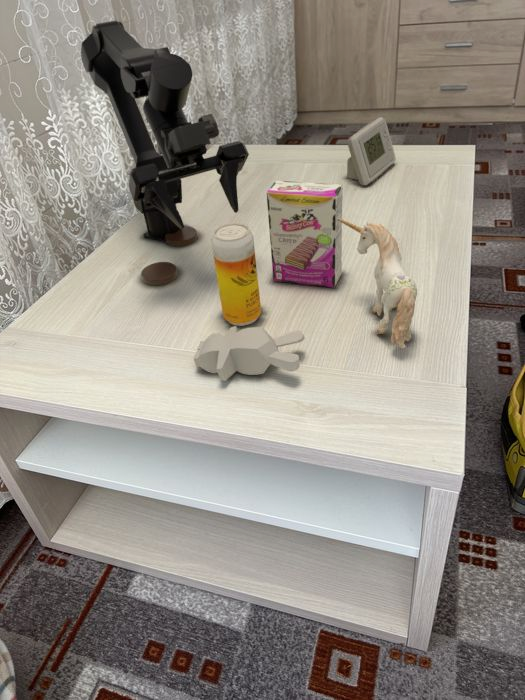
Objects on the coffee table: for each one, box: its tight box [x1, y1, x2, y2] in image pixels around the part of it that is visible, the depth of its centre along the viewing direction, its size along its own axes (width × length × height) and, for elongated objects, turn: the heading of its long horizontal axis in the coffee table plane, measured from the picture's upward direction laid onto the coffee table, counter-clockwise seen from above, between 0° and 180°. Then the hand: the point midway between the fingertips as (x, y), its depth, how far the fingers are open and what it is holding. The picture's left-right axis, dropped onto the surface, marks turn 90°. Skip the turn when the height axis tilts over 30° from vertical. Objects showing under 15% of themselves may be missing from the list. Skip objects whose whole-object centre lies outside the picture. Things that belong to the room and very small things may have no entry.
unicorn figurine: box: [336, 218, 418, 349], centre depth 80 cm, size 7×20×13 cm, turn 20°
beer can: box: [210, 222, 262, 327], centre depth 83 cm, size 6×6×15 cm
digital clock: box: [346, 116, 397, 186], centre depth 125 cm, size 16×9×11 cm, turn 134°
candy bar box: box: [266, 180, 343, 289], centre depth 90 cm, size 11×5×16 cm, turn 71°
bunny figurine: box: [192, 325, 305, 381], centre depth 77 cm, size 10×5×15 cm
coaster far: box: [165, 225, 199, 248], centre depth 110 cm, size 6×6×1 cm
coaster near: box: [140, 261, 178, 287], centre depth 100 cm, size 6×6×1 cm
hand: (210, 219), depth 85 cm, fingers open, 9 cm apart
